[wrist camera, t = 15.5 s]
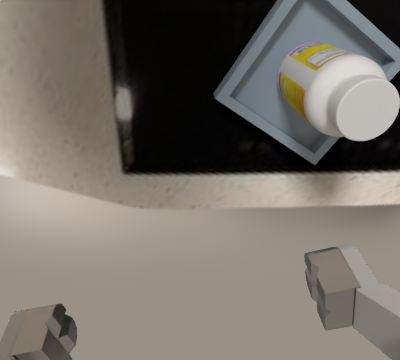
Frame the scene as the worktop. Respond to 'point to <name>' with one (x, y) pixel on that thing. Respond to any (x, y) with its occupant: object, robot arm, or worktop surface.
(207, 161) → the worktop surface
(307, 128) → the tray
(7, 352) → the robot arm
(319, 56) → the supplement bottle
